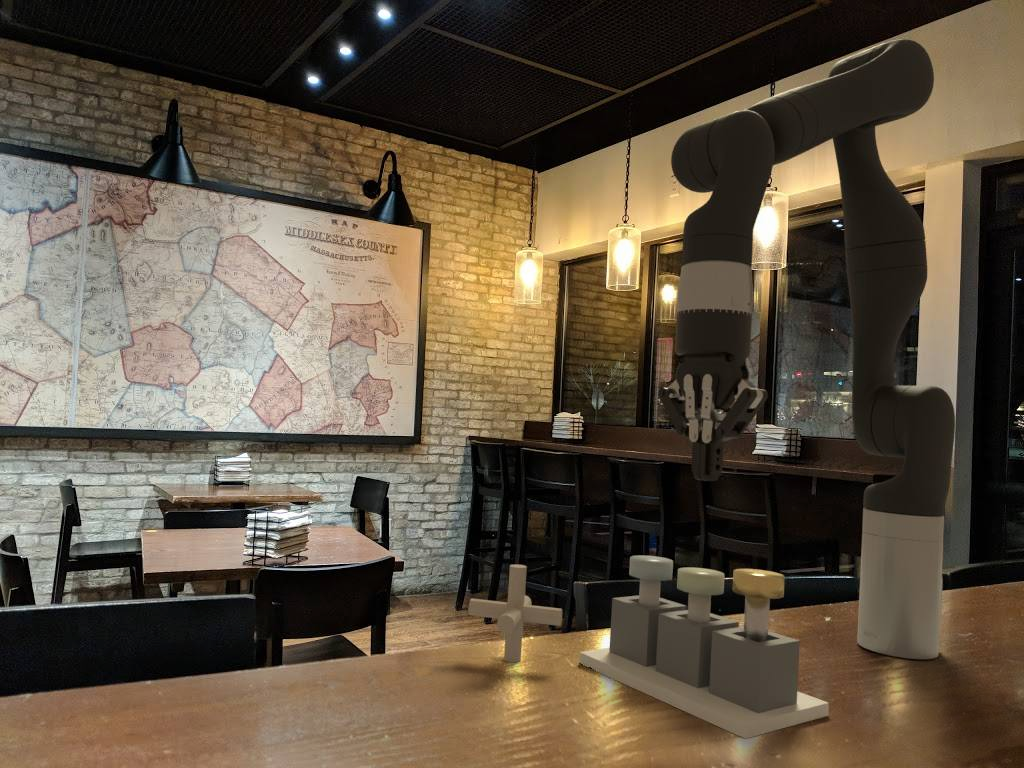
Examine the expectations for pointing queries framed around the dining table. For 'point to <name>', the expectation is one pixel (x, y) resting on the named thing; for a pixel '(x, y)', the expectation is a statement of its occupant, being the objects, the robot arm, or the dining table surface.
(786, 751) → the dining table surface
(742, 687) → the socket board
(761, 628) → the brass plug
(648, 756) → the dining table surface
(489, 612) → the pipe connector
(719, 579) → the sage plug
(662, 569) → the slate plug
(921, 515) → the robot arm
